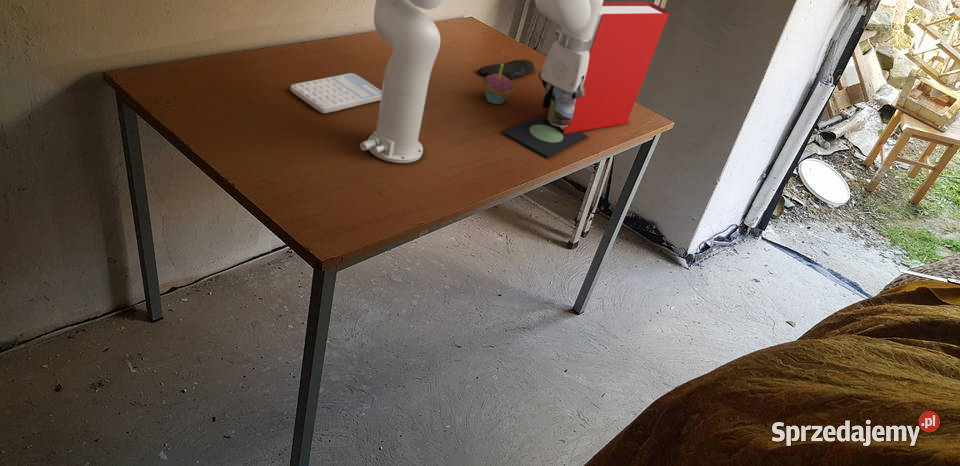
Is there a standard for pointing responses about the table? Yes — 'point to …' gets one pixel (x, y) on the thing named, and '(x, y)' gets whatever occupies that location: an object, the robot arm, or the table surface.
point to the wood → (509, 69)
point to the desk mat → (543, 136)
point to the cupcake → (497, 87)
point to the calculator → (337, 92)
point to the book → (617, 63)
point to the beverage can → (561, 108)
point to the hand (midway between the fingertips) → (553, 109)
